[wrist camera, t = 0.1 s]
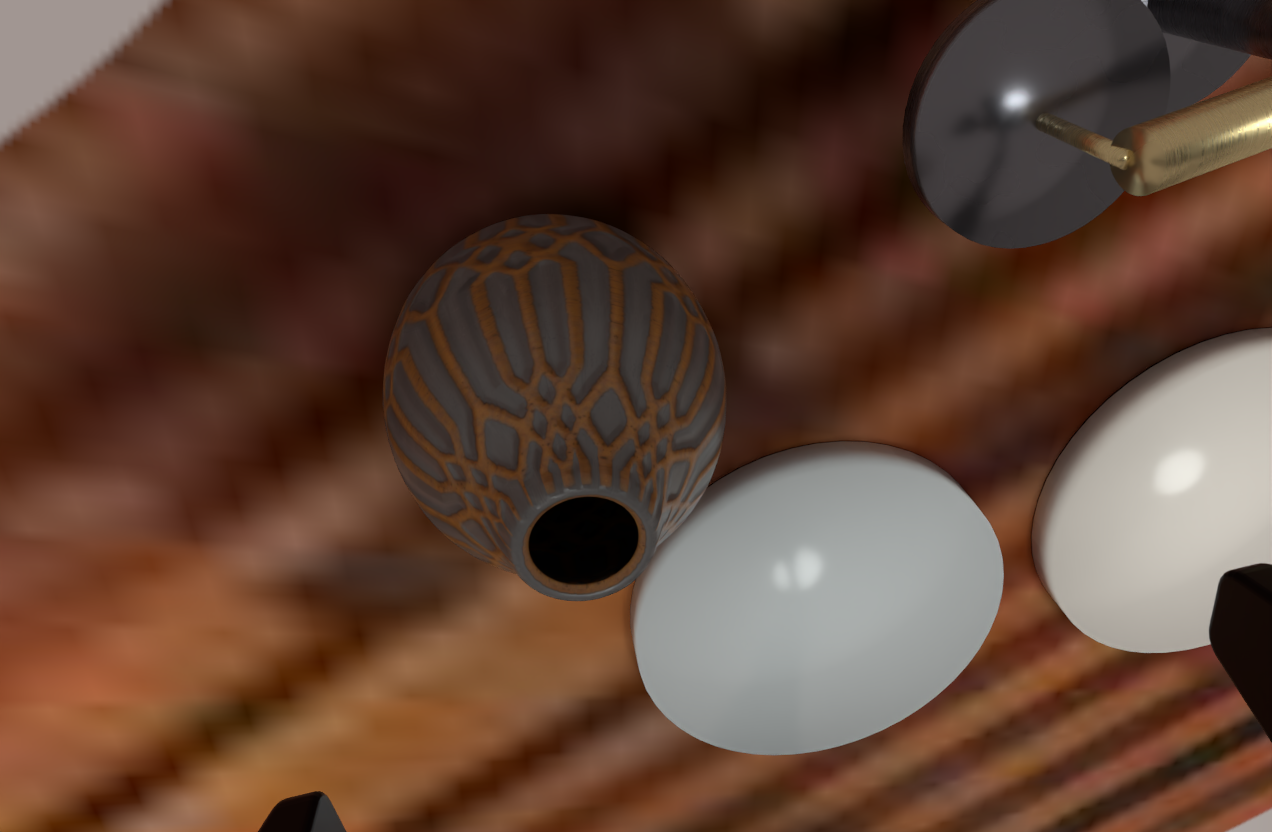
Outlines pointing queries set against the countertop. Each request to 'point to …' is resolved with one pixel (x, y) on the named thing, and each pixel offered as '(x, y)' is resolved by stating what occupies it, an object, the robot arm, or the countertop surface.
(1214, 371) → the dish low
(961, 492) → the white round plate
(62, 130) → the countertop surface
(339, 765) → the countertop surface
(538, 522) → the vase
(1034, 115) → the balance
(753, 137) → the countertop surface
